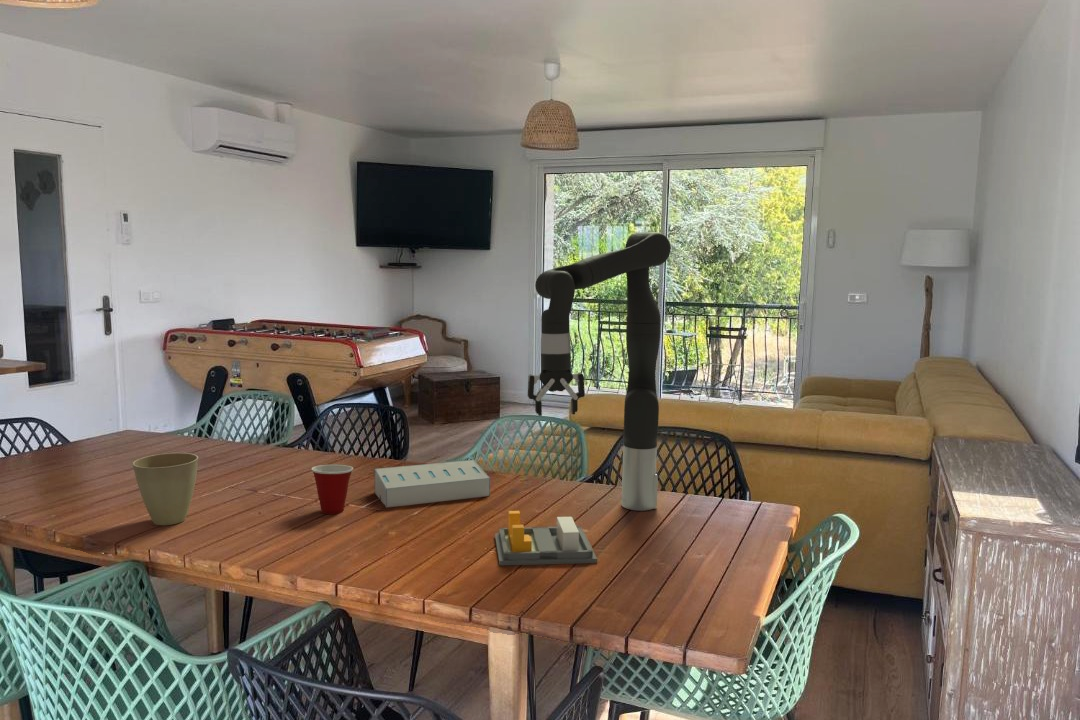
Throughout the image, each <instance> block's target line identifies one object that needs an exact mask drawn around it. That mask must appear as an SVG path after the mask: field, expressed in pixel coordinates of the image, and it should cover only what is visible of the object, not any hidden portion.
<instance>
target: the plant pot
mask: <svg viewBox="0 0 1080 720" xmlns="http://www.w3.org/2000/svg"><path fill="white" fill-rule="evenodd" d="M198 464H199V456H198V455H197V454H195V453H190V452H189V453H187V452H168V453H158V454H153V455H148V456H144V457H140V458H138V459H136V460H134V461H133V462H132V467H133V471H134V475H135V479H136V484H137V487H138V490H139V493H140V496H141V498H142V501H143V504H144V506H145V508H146V511H147V512H148V515H149V517H150V519H151V521H152V523H153V524H154V525H156V526H172V525H177V524H179V523H183V521H185V520H186V518H187V515H188V511H189V509H190V506H191V502H192V499H193V495H194V490H195V485H196V480H197V475H198V473H197V472H198V466H199V465H198Z"/></svg>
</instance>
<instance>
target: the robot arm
mask: <svg viewBox="0 0 1080 720" xmlns="http://www.w3.org/2000/svg"><path fill="white" fill-rule="evenodd" d="M670 255H671V242H670V240H669V239H668V237H667V236H666V235H665V234H663V233H661V232H657V231H645V232H644V231H643V232H634V233H632V234H631V235H629V236H628V238H627V240H626V242H625V247H624V248H621V249H617V250H614V251H608V252H603V253H599V254H595V255H592V256H589V257H587V258H583V259H581V260H578V261H576V262H574V263H571V264H568V265H564V266H560V267H555V268H552V269H548V270H545V271H543V272H541V274H539V275H538V276H537V277H536V280H535V283H534V284H535V285H534V286H535V291H536V292H537V294H538V295H539V296H540V297H542V298H544V299H548V300H549V303H548V305H549V306H548V308H547V309H545V310H543V311H542V312H541V316H540V317H541V319H540V321H541V328H540V329H541V337H540V373H539V374H537V375H535V374H531V373H530V374H529V375H528V378H527V379H528V380H527V397H528V398H529V400H533V401H534V408H535V409H534V410H535V413H536V414H537V416H539V417H542V415H543V411H542V399H543V397H544V396H545V395H546V394H547V392H556V391H557V392H564V391H565V390H566V392H567V393H568V394H569V396H570V397H571V399H570V413H571V414H572V415H576V413H577V412H578V409H579V408H578V406H579V405H578V402H579V401H578V400H579V399H580V398H584V397H585V395H586V392H585V391H586V389H585V377H584V374H583V373H581V372H577V373H572V363H571V362H572V351H571V350H572V346H571V345H572V343H571V336H570V315H571V311H572V308H573V302H574V299H575V293H576V290H582V289H587V288H590V287H592V286H595V285H597V284H600V283H603V282H604V281H608V280H610V279H613V278H615V277H618V276H620V275H624V274H626V308H627V309H626V324H625V326H626V327H625V332H626V333H625V336H626V337H625V340H626V353H627V362H628V376H627V378H628V379H627V386H626V393H625V397H624V409H623V412H624V413H623V432H622V433H623V438H622V441H623V442H622V443H623V445H622V449H623V450H622V476H621V479H622V480H621V501H620V503H621V506H622V507H623V508H624V509H628V510H629V511H631V510H632V511H638V512H639V511H640V512H643V511H650V510H655V509H658V505H657V504H658V485H659V484H658V482H659V480H658V479H659V475H658V474H657V454H658V453H657V451H658V449H657V448H658V447H657V446H658V438H659V435H658V434H659V415H660V404H659V399H658V394H657V382H656V366H657V360H658V356H659V349H660V343H661V342H660V341H661V323H662V322H661V321H662V319H661V312H660V309H659V306H658V303H657V302H656V299H655V297H654V294H653V291H652V289H651V285H650V268H653V267H658V266H661V265H663V264H664V263H665V262H667V260H668V259H669V257H670ZM573 379H574V381H575V382H577V391H578V392H575V391H574V390H573V388H572V387H571V386H570V383H571V382H572V381H573ZM538 381H540V382H541V383H542V385H541V387H540V388H539V389H538V391H537V393H536V394H535V384H537V382H538Z"/></svg>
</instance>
